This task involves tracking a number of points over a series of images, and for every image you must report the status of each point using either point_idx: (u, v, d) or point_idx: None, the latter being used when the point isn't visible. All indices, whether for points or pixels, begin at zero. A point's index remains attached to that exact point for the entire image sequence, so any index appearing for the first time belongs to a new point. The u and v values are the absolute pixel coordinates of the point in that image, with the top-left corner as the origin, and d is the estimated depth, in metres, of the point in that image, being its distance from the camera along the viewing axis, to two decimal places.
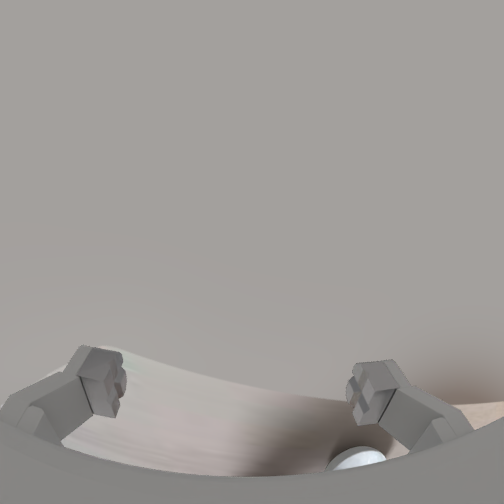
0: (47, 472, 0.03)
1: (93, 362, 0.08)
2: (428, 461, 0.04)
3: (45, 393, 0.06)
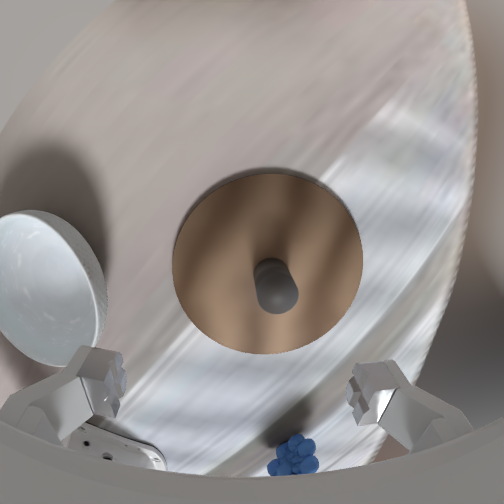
0: (47, 472, 0.03)
1: (93, 362, 0.08)
2: (428, 461, 0.04)
3: (44, 393, 0.06)
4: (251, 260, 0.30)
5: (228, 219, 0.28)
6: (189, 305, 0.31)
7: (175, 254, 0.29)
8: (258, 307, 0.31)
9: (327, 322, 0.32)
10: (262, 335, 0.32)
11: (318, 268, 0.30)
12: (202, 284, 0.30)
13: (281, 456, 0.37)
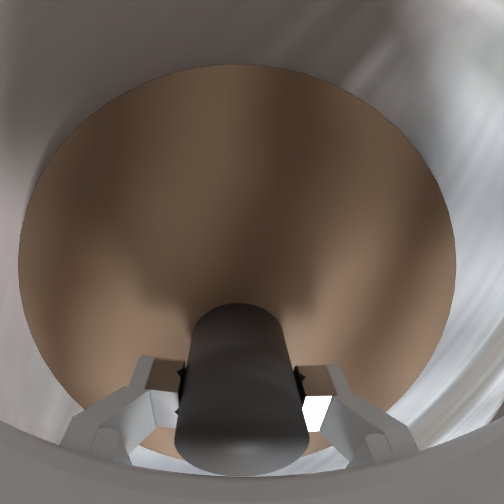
0: (47, 472, 0.03)
1: (160, 373, 0.08)
2: (428, 461, 0.04)
3: (114, 411, 0.06)
4: (180, 313, 0.11)
5: (103, 210, 0.09)
6: (82, 396, 0.12)
7: (24, 301, 0.10)
8: None
9: None
10: None
11: (359, 317, 0.11)
12: (89, 362, 0.11)
13: None
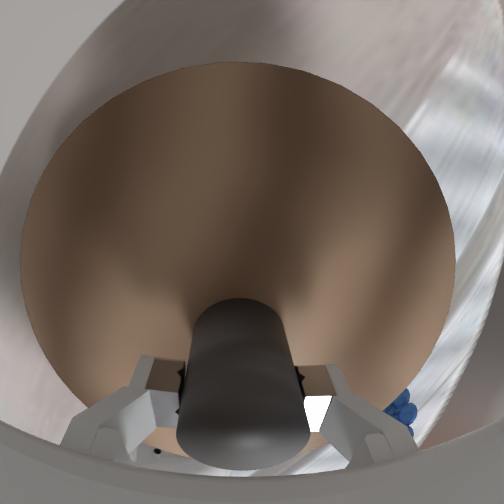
0: (47, 472, 0.03)
1: (160, 373, 0.08)
2: (428, 461, 0.04)
3: (114, 412, 0.06)
4: (182, 308, 0.11)
5: (105, 206, 0.09)
6: (83, 392, 0.12)
7: (26, 298, 0.10)
8: None
9: None
10: None
11: (359, 312, 0.11)
12: (90, 358, 0.12)
13: None
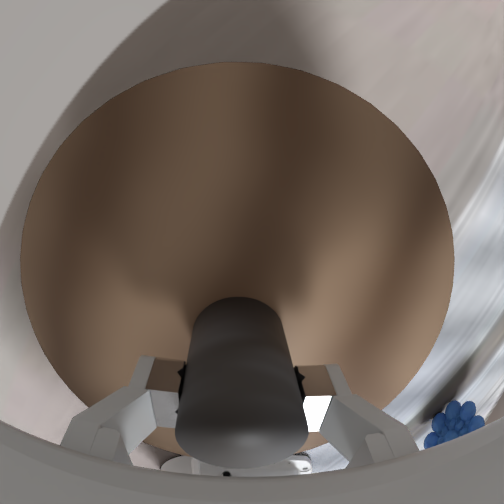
0: (47, 472, 0.03)
1: (160, 373, 0.08)
2: (428, 461, 0.04)
3: (115, 412, 0.06)
4: (181, 307, 0.11)
5: (105, 205, 0.09)
6: (83, 391, 0.12)
7: (26, 296, 0.10)
8: None
9: None
10: None
11: (358, 311, 0.11)
12: (90, 357, 0.12)
13: (439, 427, 0.31)
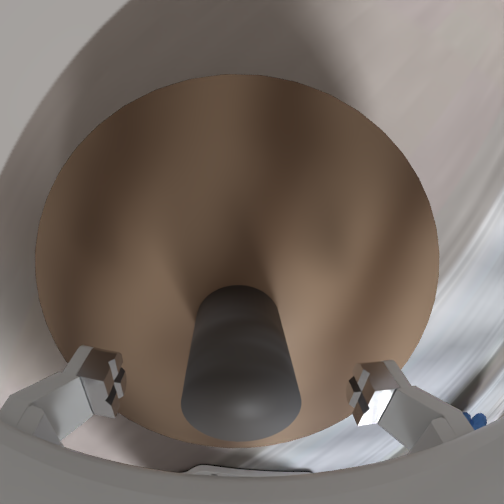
0: (47, 472, 0.03)
1: (93, 362, 0.08)
2: (428, 461, 0.04)
3: (44, 393, 0.06)
4: (186, 294, 0.12)
5: (118, 201, 0.11)
6: None
7: (40, 287, 0.12)
8: None
9: None
10: None
11: (348, 300, 0.13)
12: (99, 344, 0.13)
13: None
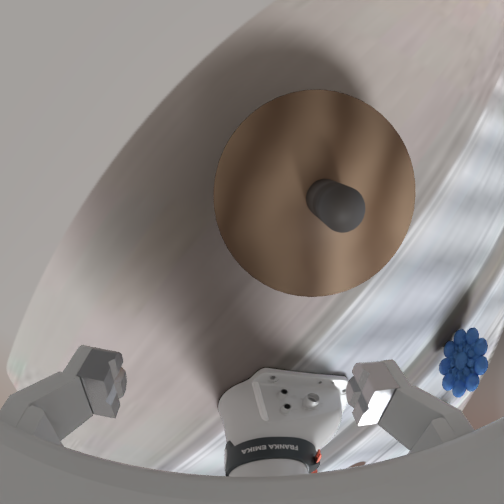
0: (47, 472, 0.03)
1: (93, 362, 0.08)
2: (428, 461, 0.04)
3: (44, 393, 0.06)
4: (302, 183, 0.26)
5: (274, 138, 0.24)
6: (235, 243, 0.27)
7: (216, 183, 0.25)
8: (313, 238, 0.28)
9: (386, 252, 0.29)
10: (319, 272, 0.29)
11: (373, 189, 0.26)
12: (249, 215, 0.27)
13: (450, 352, 0.42)
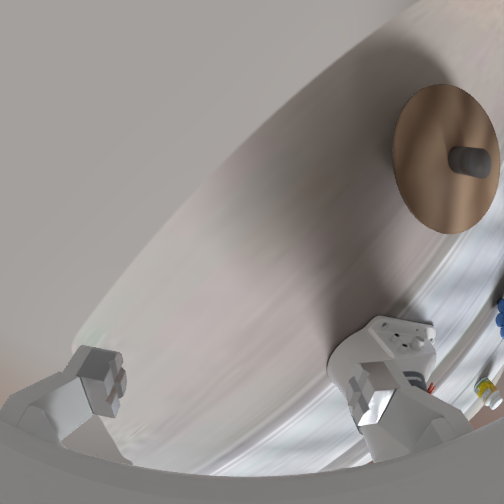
0: (47, 472, 0.03)
1: (93, 362, 0.08)
2: (428, 461, 0.04)
3: (44, 393, 0.06)
4: (446, 146, 0.29)
5: (432, 112, 0.28)
6: (406, 183, 0.31)
7: (399, 135, 0.29)
8: (450, 187, 0.31)
9: (485, 205, 0.32)
10: (451, 214, 0.32)
11: None
12: (417, 163, 0.30)
13: None
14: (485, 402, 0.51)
